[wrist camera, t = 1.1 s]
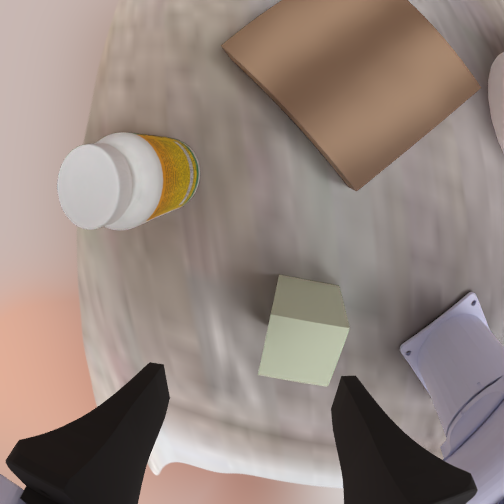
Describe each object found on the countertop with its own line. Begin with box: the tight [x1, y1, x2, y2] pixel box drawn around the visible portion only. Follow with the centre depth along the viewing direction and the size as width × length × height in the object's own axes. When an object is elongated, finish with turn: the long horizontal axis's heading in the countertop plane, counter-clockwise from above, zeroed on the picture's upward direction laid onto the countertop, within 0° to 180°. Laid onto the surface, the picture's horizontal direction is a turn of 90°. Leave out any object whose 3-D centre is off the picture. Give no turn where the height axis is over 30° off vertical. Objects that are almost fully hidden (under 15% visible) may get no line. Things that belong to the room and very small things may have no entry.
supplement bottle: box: [57, 132, 200, 230], centre depth 16 cm, size 5×5×10 cm
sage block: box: [258, 275, 350, 386], centre depth 19 cm, size 4×4×6 cm
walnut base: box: [221, 0, 481, 191], centre depth 15 cm, size 12×12×3 cm
